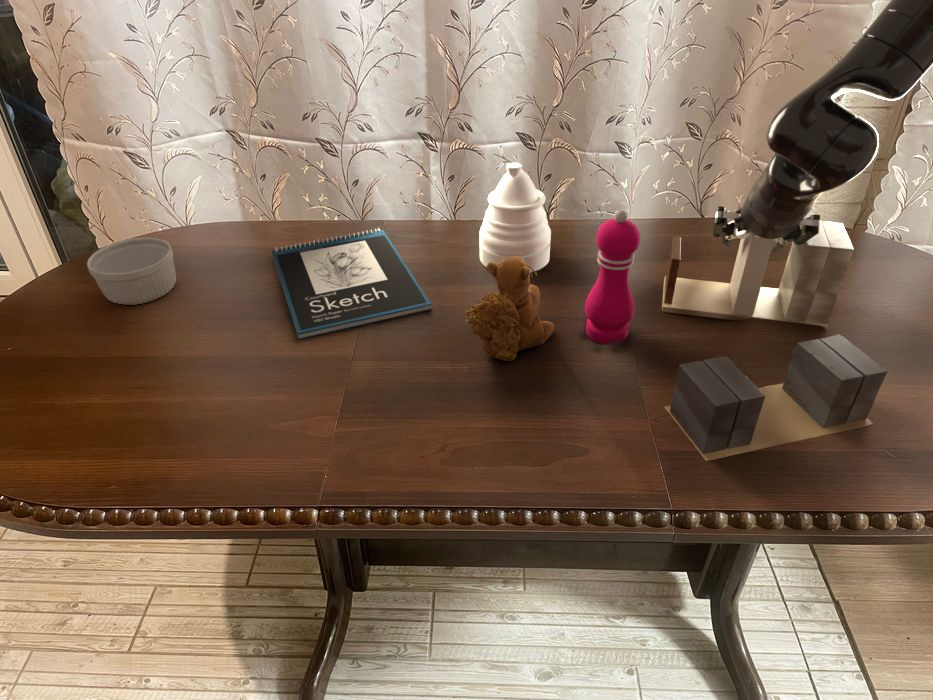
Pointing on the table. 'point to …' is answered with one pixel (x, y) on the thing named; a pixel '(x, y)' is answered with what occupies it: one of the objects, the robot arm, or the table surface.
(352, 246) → the sketchbook
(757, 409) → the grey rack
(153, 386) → the table surface
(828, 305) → the white rack
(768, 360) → the table surface
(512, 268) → the stuffed squirrel
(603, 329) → the pepper mill
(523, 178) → the honey pot
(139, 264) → the ramekin
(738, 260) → the white book
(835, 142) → the robot arm
